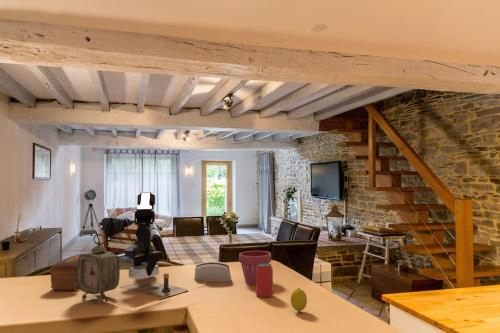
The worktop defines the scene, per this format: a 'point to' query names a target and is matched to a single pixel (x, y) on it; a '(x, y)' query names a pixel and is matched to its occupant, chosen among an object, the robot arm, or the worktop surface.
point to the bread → (65, 274)
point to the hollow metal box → (142, 272)
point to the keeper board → (156, 288)
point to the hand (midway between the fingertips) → (143, 274)
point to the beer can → (264, 280)
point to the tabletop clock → (98, 271)
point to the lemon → (298, 299)
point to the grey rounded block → (212, 272)
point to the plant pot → (253, 263)
